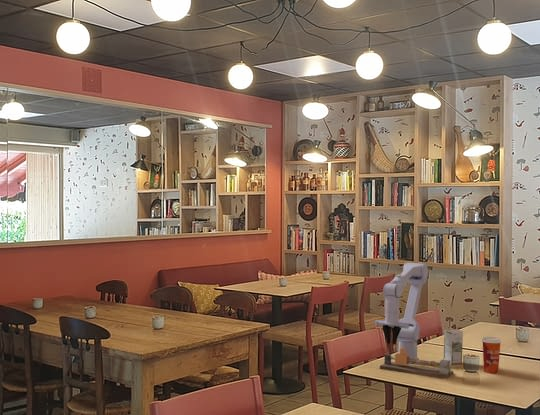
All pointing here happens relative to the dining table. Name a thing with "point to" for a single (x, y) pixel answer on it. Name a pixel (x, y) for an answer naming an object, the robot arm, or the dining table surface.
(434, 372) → the grey slider rail
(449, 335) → the syrup box
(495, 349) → the paper cup
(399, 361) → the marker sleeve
